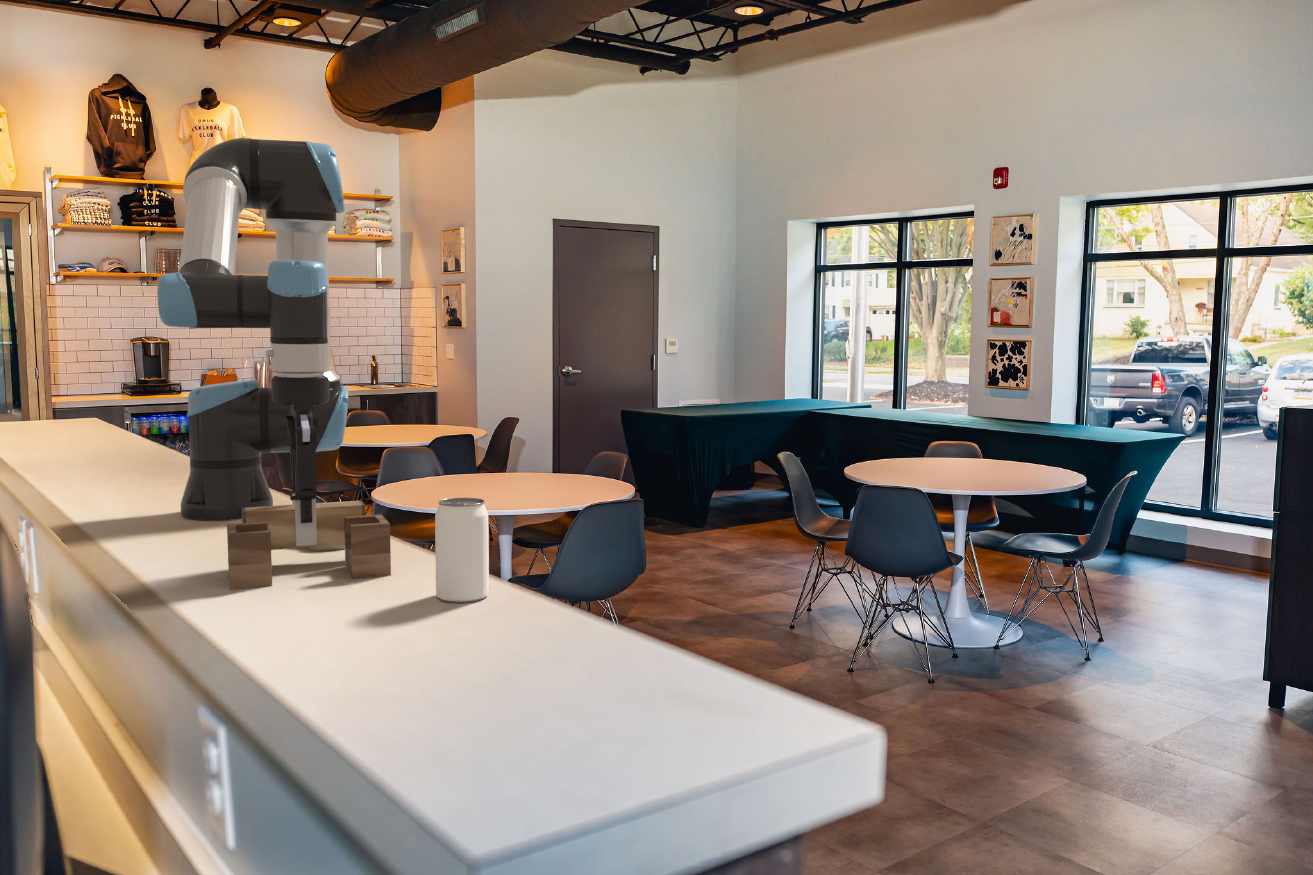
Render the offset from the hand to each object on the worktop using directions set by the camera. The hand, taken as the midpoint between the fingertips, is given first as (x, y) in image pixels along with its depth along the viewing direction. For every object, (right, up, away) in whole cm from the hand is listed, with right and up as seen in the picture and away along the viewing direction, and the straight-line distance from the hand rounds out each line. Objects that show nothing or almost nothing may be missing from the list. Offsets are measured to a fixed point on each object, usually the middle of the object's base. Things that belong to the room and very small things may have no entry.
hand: (305, 541), depth 143 cm
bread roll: (-1, -2, +13) cm, 13 cm away
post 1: (-4, -4, -9) cm, 11 cm away
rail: (0, -1, 0) cm, 0 cm away
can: (+25, -5, -16) cm, 30 cm away
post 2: (+10, -4, -3) cm, 11 cm away
